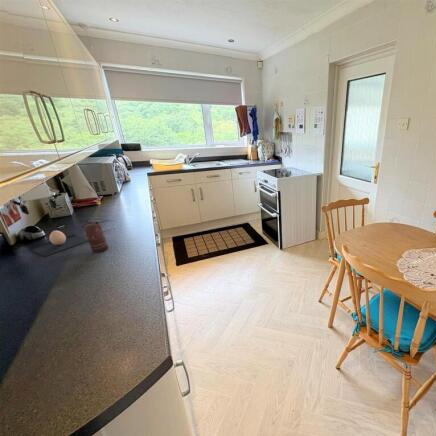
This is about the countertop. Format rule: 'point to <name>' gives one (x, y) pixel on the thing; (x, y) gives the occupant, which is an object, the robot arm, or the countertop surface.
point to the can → (95, 237)
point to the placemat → (58, 246)
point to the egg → (57, 237)
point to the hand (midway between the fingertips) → (40, 210)
